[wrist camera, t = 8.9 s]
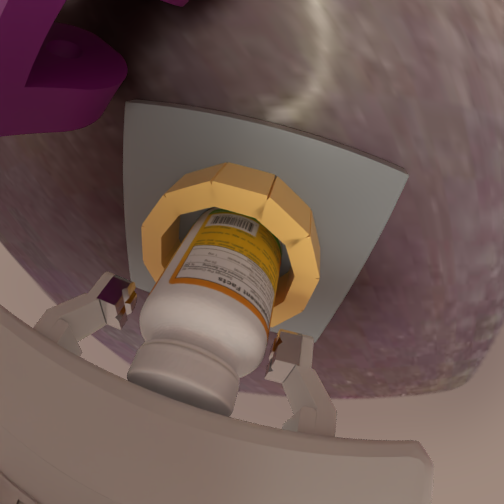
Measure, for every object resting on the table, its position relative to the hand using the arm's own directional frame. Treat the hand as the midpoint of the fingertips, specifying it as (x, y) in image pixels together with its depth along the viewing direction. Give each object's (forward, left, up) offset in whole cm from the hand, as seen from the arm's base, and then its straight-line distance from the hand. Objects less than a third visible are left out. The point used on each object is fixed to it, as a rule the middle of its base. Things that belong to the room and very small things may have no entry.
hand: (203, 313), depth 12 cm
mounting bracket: (-13, +15, -7) cm, 21 cm away
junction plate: (0, 0, -7) cm, 7 cm away
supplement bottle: (0, 0, -6) cm, 6 cm away
